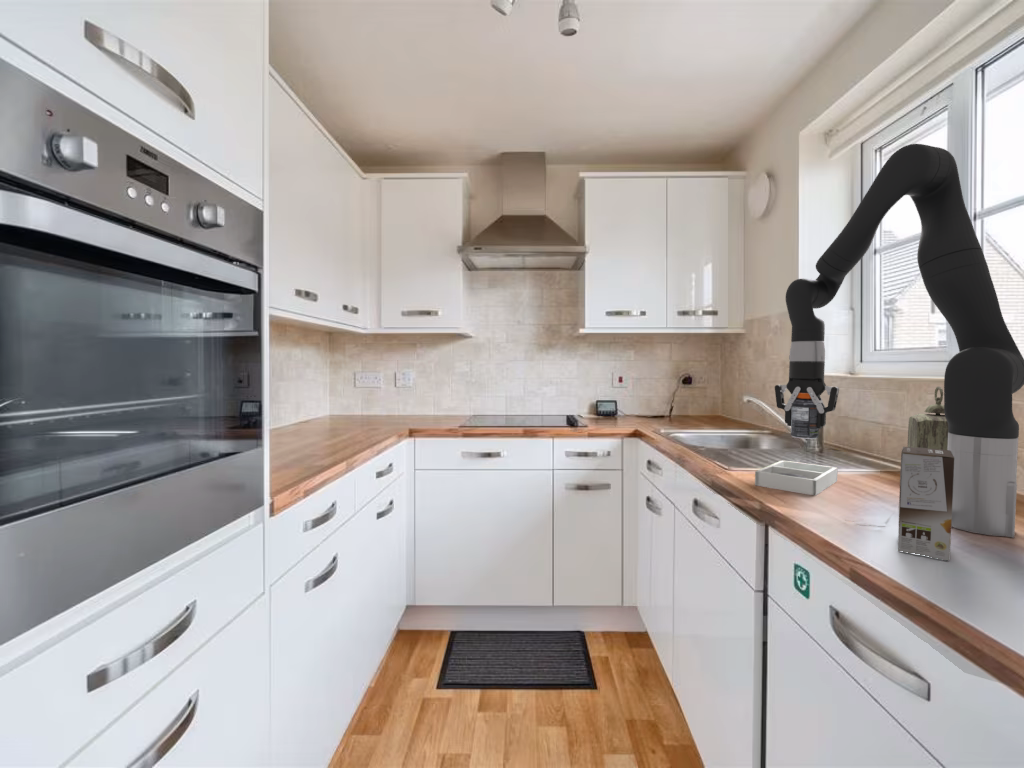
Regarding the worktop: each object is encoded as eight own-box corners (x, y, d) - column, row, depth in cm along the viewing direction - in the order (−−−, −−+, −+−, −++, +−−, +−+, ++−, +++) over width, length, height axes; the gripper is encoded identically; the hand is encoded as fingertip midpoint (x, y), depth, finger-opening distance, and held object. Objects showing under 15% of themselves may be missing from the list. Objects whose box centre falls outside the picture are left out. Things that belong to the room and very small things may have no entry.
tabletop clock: (964, 492, 115) (969, 388, 114) (915, 487, 119) (919, 386, 118) (949, 480, 127) (953, 386, 126) (905, 476, 132) (909, 385, 131)
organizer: (837, 485, 120) (837, 467, 120) (815, 500, 106) (816, 480, 106) (781, 476, 129) (782, 460, 129) (754, 490, 115) (755, 471, 115)
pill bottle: (810, 435, 123) (812, 391, 123) (823, 439, 117) (825, 393, 117) (786, 435, 124) (787, 391, 123) (797, 438, 118) (799, 392, 117)
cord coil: (808, 486, 114) (809, 475, 114) (801, 490, 110) (802, 479, 110) (781, 481, 118) (781, 471, 118) (773, 485, 114) (773, 475, 114)
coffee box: (951, 563, 72) (956, 457, 72) (897, 552, 76) (901, 452, 76) (947, 545, 80) (951, 449, 79) (897, 536, 84) (901, 445, 83)
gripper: (844, 360, 117) (842, 428, 118) (779, 360, 128) (777, 423, 128) (837, 359, 112) (834, 431, 113) (770, 359, 122) (768, 425, 123)
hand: (804, 426), depth 120 cm, fingers closed on pill bottle, 6 cm apart
